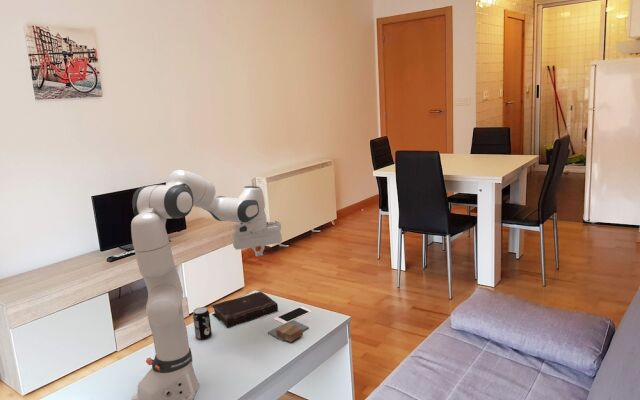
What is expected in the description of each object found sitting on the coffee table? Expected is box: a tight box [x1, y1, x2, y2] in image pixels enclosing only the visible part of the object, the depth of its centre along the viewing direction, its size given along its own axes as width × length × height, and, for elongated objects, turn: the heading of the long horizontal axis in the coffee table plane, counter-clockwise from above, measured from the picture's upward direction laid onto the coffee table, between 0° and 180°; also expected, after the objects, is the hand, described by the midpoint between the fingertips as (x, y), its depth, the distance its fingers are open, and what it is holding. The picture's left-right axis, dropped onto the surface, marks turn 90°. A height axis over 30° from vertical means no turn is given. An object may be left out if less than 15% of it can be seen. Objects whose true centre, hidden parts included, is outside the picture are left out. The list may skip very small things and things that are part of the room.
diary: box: [210, 291, 279, 329], centre depth 233 cm, size 19×25×5 cm
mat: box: [267, 319, 310, 342], centre depth 214 cm, size 14×10×1 cm
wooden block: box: [276, 323, 304, 343], centre depth 208 cm, size 3×7×8 cm
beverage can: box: [192, 306, 213, 341], centre depth 213 cm, size 7×7×12 cm
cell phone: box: [273, 305, 313, 325], centre depth 228 cm, size 8×16×1 cm, turn 132°
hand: (259, 255), depth 215 cm, fingers closed
